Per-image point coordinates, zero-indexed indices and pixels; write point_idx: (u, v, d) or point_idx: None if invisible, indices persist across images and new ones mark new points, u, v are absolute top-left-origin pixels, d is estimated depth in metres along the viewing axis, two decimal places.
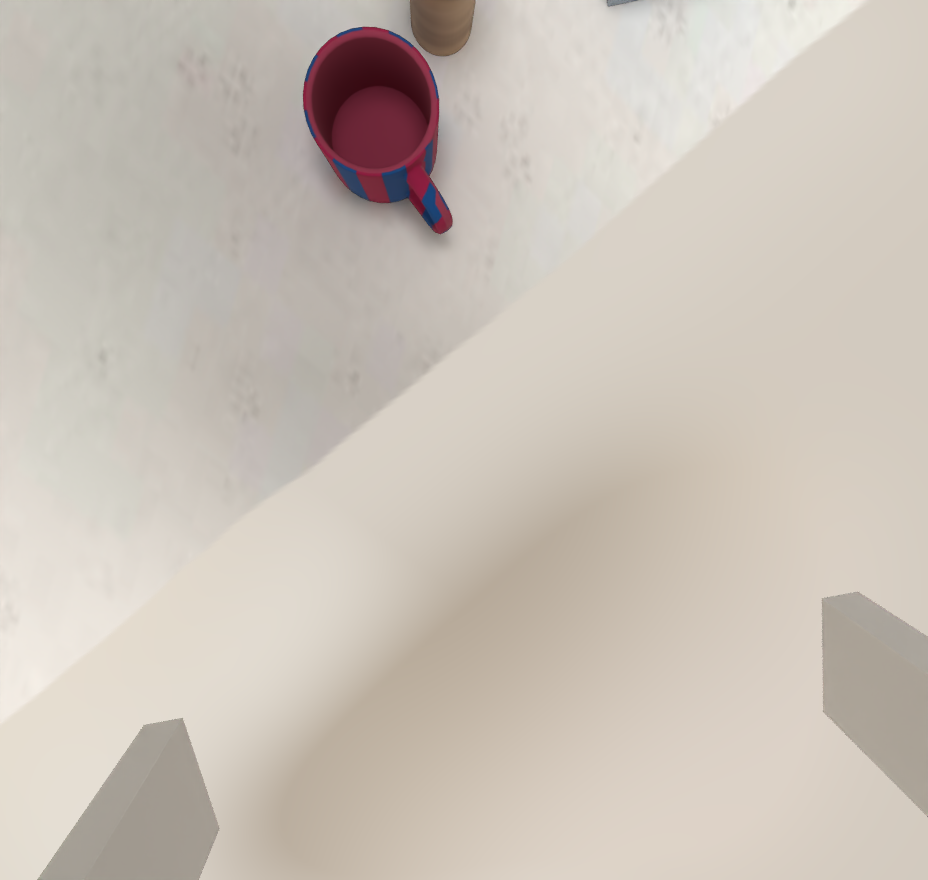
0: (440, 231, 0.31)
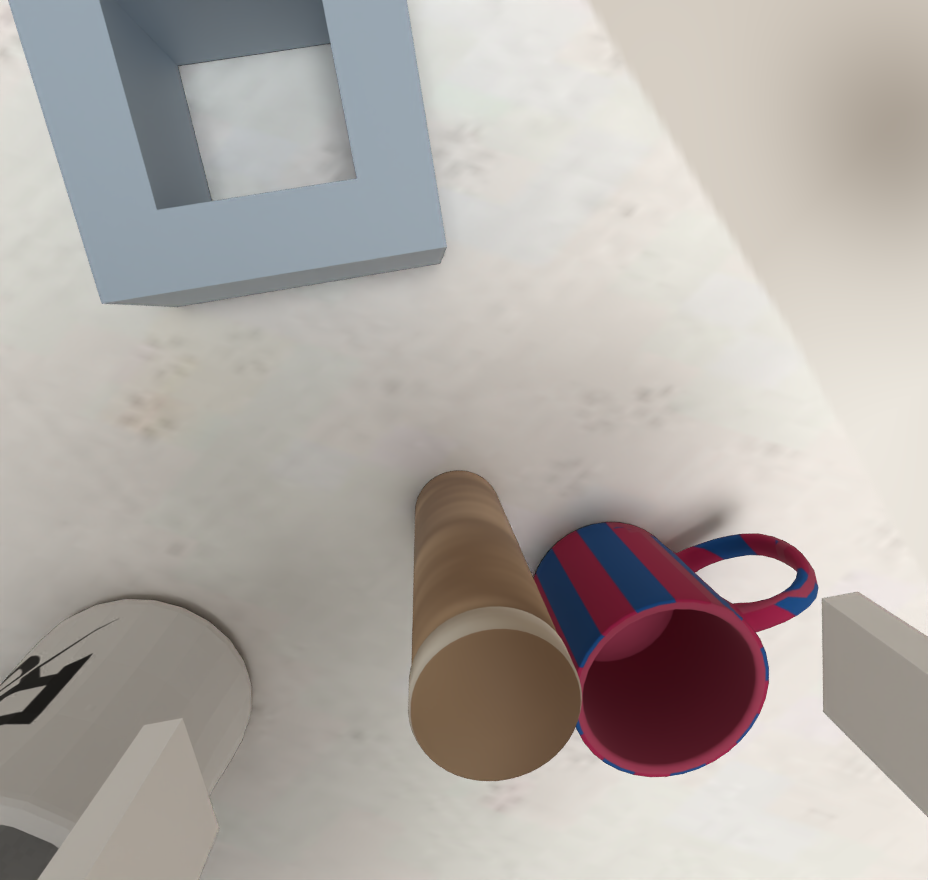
0: None
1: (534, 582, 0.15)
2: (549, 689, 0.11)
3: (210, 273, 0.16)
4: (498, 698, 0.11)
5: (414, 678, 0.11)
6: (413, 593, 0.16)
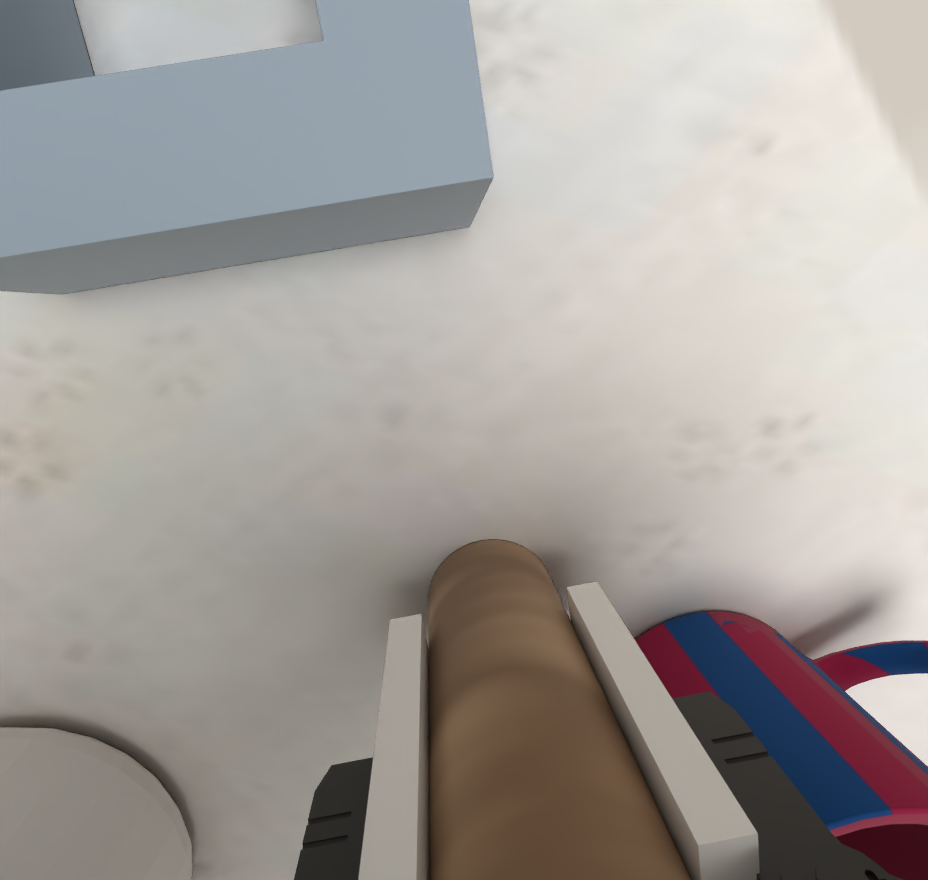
0: None
1: (670, 835, 0.08)
2: None
3: (50, 225, 0.08)
4: None
5: None
6: (429, 828, 0.08)
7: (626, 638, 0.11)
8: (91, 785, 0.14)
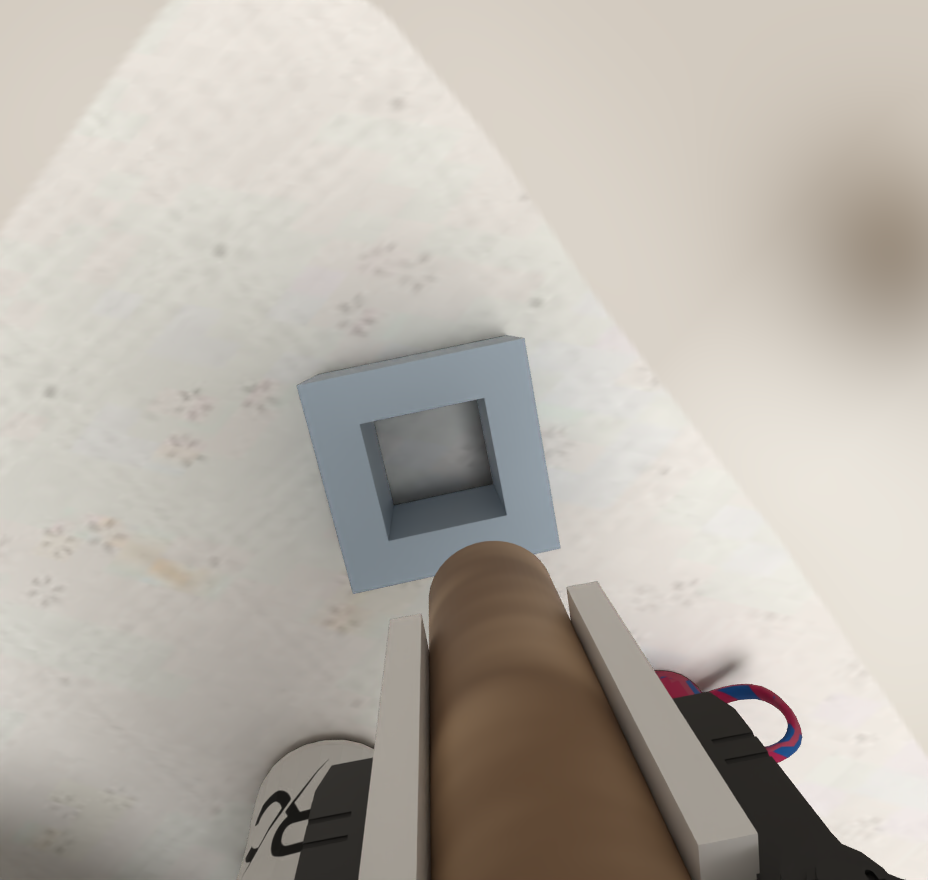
0: None
1: (671, 837, 0.08)
2: None
3: (418, 573, 0.26)
4: None
5: None
6: (431, 830, 0.08)
7: (626, 638, 0.11)
8: None
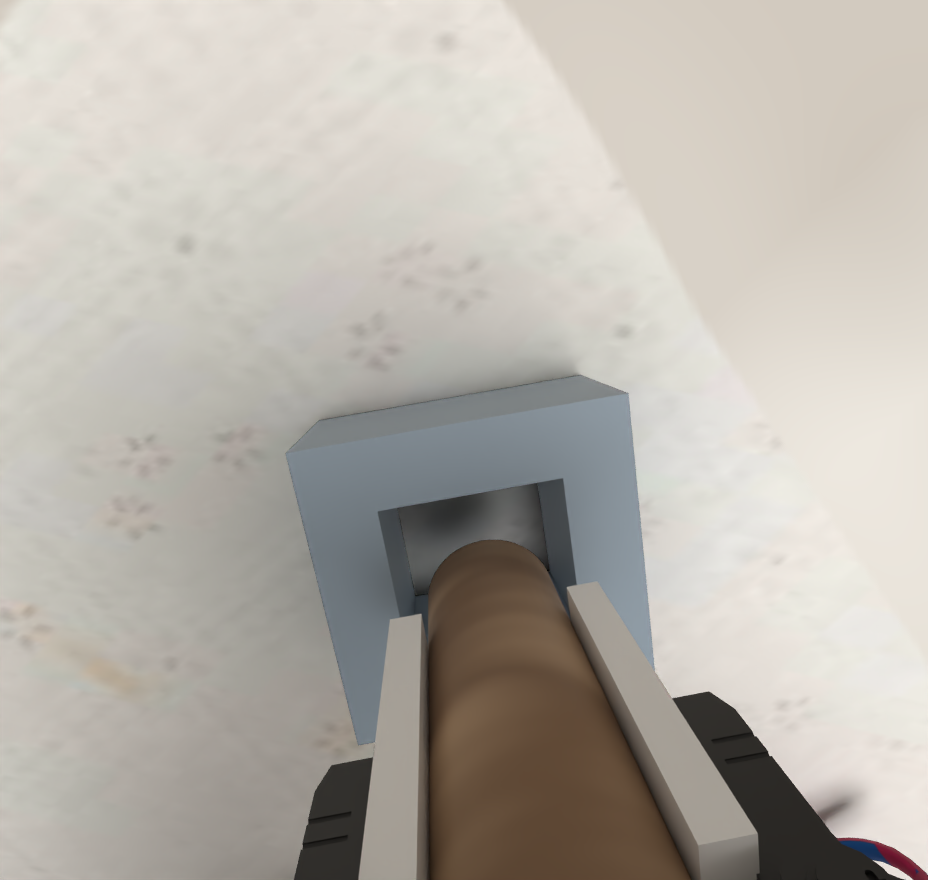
0: None
1: (670, 836, 0.08)
2: None
3: None
4: None
5: None
6: (429, 829, 0.08)
7: (626, 638, 0.11)
8: None
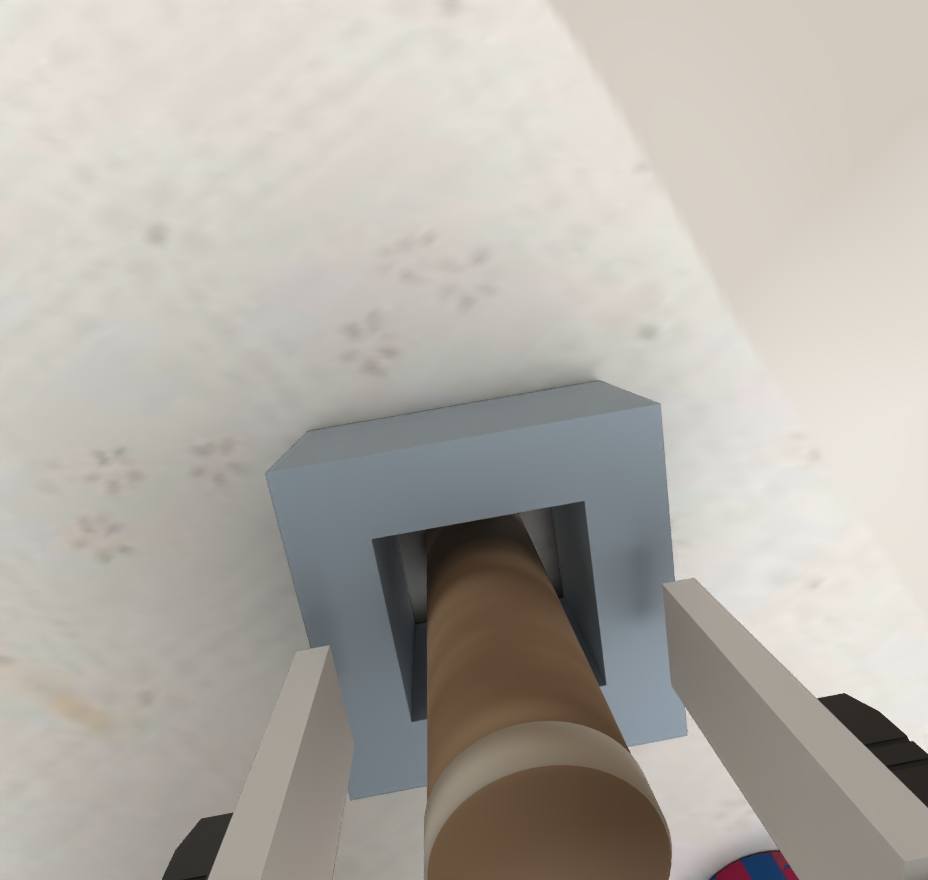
0: None
1: None
2: (627, 847, 0.08)
3: None
4: (554, 861, 0.08)
5: (433, 832, 0.08)
6: (427, 666, 0.12)
7: (746, 637, 0.10)
8: None
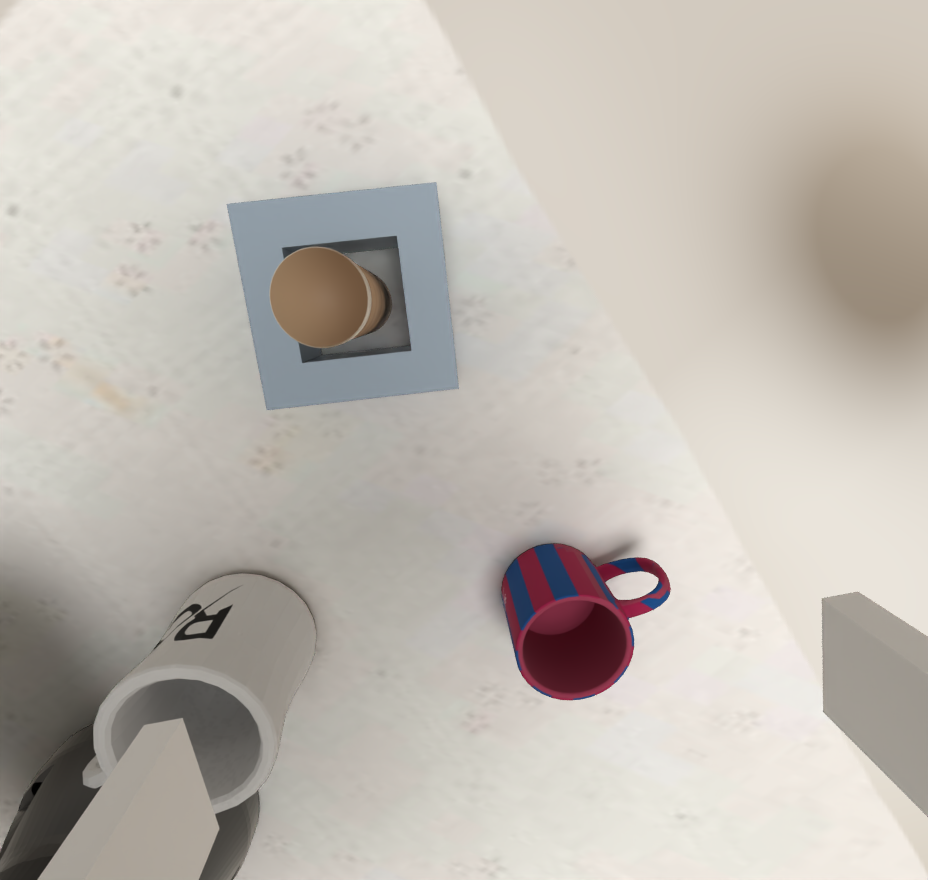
0: None
1: (372, 281, 0.24)
2: (349, 289, 0.20)
3: (327, 397, 0.28)
4: (319, 291, 0.20)
5: (273, 276, 0.20)
6: None
7: None
8: (284, 596, 0.34)
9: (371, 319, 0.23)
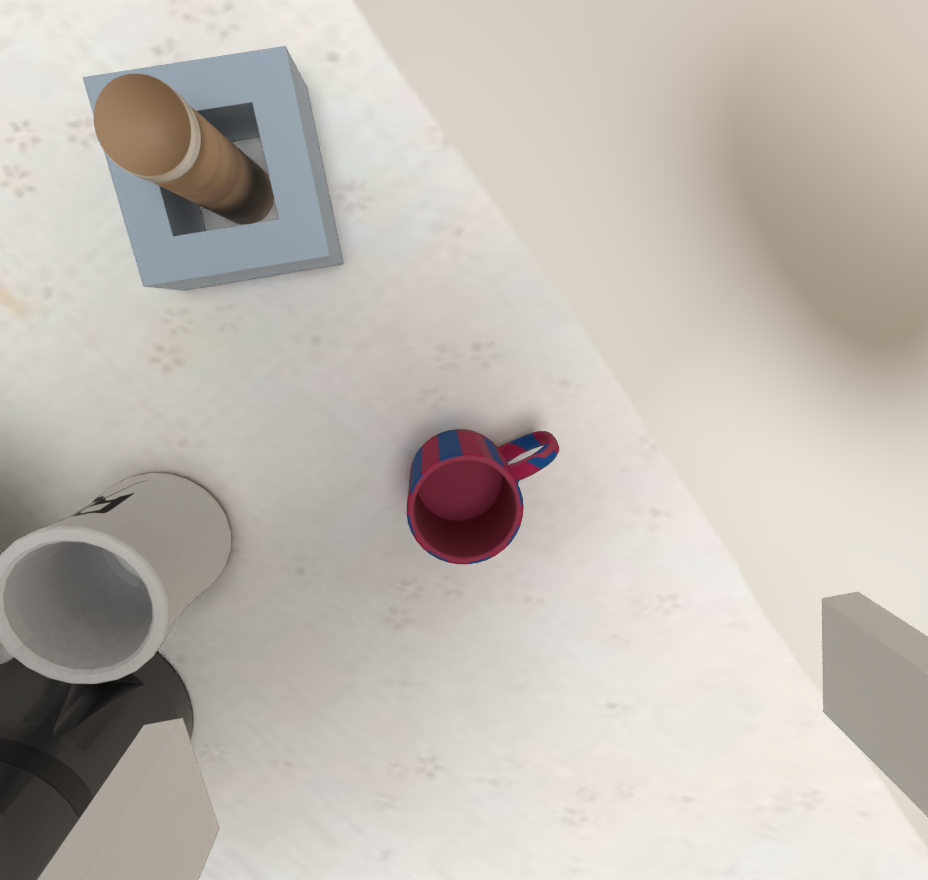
0: (558, 446, 0.33)
1: (216, 131, 0.25)
2: (170, 115, 0.21)
3: (201, 270, 0.29)
4: (142, 118, 0.21)
5: None
6: None
7: None
8: (192, 491, 0.35)
9: (215, 165, 0.24)
